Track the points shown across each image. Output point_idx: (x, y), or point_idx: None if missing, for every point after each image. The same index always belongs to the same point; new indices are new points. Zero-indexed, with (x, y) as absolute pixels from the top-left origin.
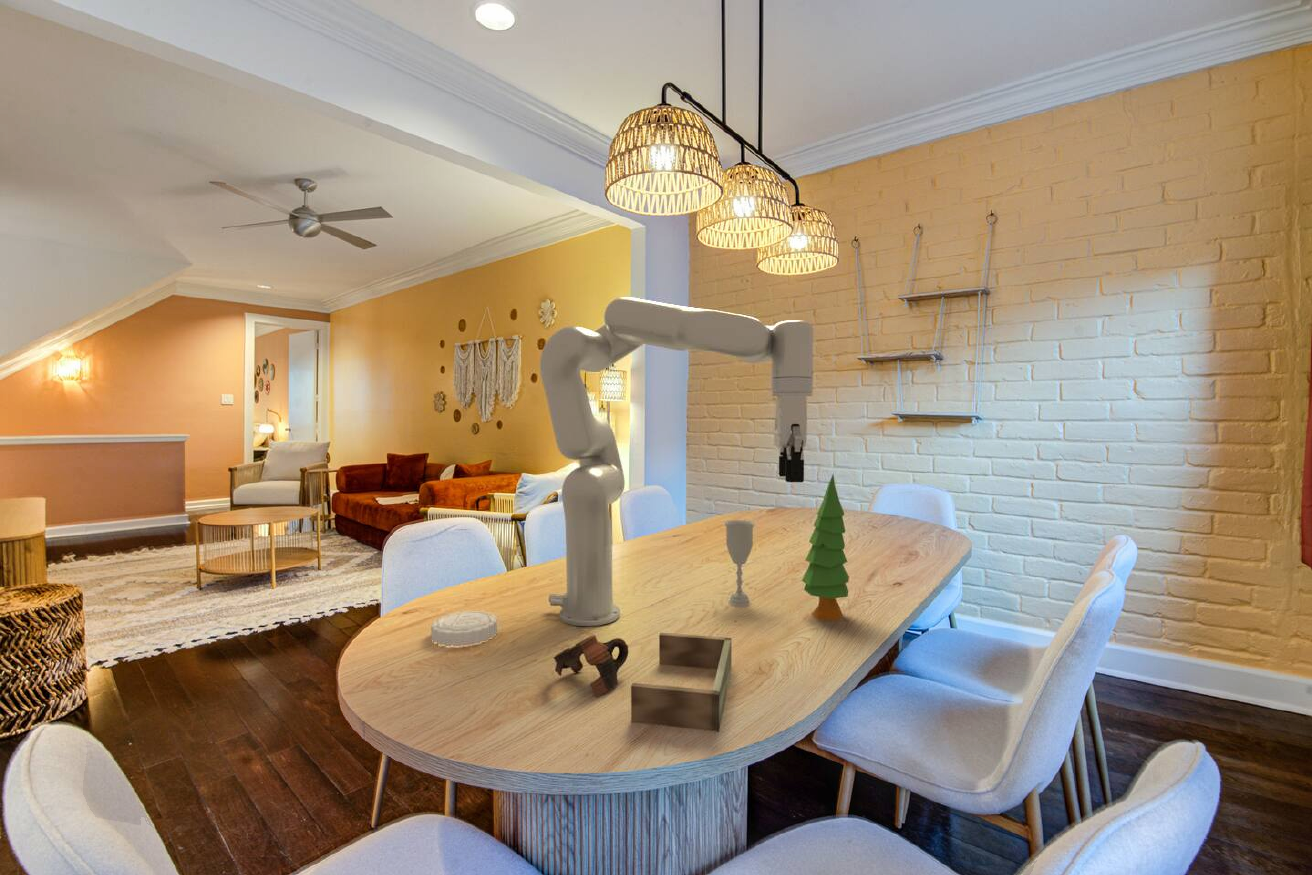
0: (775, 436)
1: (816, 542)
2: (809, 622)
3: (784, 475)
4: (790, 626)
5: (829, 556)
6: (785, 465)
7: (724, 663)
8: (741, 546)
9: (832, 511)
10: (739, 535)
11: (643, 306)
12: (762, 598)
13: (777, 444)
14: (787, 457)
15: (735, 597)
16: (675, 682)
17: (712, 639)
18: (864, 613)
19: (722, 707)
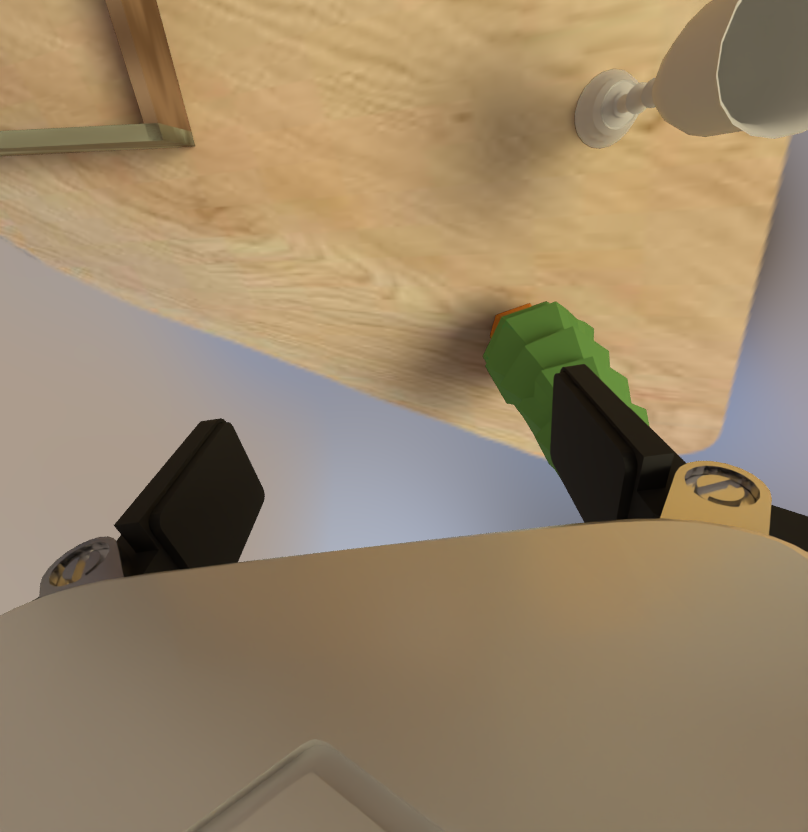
0: (435, 738)
1: (545, 379)
2: (478, 299)
3: (552, 401)
4: (449, 260)
5: (517, 395)
6: (581, 450)
7: (22, 144)
8: (665, 85)
9: None
10: (697, 61)
11: None
12: (643, 179)
13: (148, 604)
14: (105, 553)
15: (598, 95)
16: (62, 14)
17: (132, 86)
18: None
19: (7, 154)
